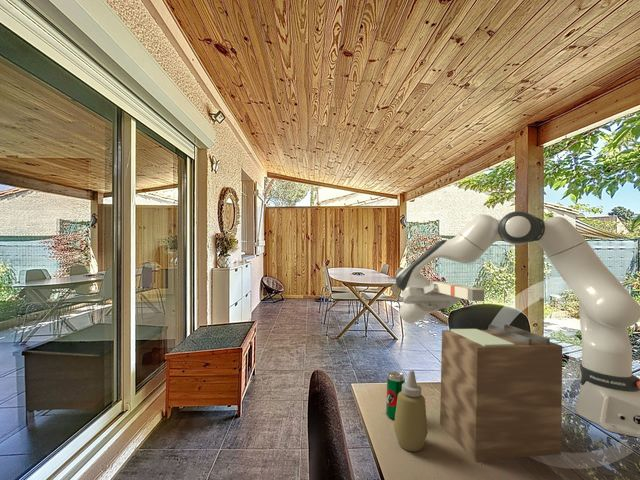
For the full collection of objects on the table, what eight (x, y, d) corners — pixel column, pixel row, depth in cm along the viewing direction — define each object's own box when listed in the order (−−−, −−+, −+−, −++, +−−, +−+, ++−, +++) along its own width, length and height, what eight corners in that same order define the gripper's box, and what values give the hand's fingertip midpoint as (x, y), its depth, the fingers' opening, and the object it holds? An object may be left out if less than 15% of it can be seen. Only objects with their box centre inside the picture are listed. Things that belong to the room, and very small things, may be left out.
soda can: (404, 422, 86) (405, 379, 86) (386, 419, 87) (387, 376, 87) (403, 412, 91) (404, 372, 91) (386, 410, 92) (387, 370, 92)
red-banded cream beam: (429, 290, 103) (430, 281, 103) (439, 290, 103) (439, 281, 103) (472, 301, 81) (472, 289, 81) (484, 301, 82) (484, 289, 82)
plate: (450, 330, 87) (450, 329, 87) (476, 330, 88) (476, 328, 88) (484, 346, 73) (484, 344, 73) (514, 345, 74) (514, 344, 74)
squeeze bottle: (386, 439, 78) (388, 368, 78) (410, 431, 82) (412, 363, 82) (409, 459, 71) (411, 380, 71) (434, 449, 74) (436, 374, 75)
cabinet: (440, 423, 86) (442, 325, 86) (513, 419, 89) (514, 324, 90) (475, 461, 71) (477, 341, 72) (561, 453, 74) (562, 339, 75)
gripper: (395, 292, 110) (410, 276, 98) (447, 293, 113) (468, 277, 102) (398, 309, 107) (414, 295, 95) (452, 309, 110) (474, 295, 98)
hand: (442, 285), depth 98 cm, fingers closed on red-banded cream beam, 3 cm apart
